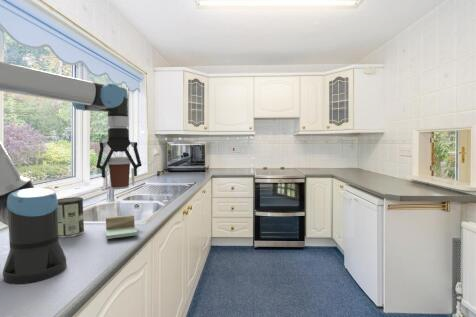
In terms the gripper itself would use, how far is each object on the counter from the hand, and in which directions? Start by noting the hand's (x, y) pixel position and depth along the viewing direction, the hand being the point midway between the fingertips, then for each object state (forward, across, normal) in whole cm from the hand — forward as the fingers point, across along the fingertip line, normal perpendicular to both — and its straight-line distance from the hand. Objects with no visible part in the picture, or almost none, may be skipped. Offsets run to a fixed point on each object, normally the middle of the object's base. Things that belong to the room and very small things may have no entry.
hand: (120, 185), depth 118 cm
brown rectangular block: (+20, 0, -7) cm, 21 cm away
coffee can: (+20, +19, -12) cm, 30 cm away
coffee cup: (+1, 0, 0) cm, 1 cm away
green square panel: (+19, 0, -6) cm, 20 cm away
